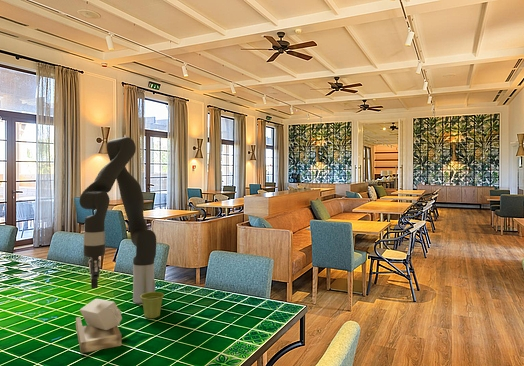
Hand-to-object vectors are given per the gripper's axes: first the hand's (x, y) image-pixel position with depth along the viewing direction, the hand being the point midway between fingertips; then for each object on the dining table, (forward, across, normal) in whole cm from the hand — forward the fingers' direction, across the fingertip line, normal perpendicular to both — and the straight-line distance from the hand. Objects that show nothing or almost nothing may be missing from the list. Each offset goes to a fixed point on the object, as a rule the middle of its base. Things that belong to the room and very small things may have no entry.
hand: (94, 287), depth 149 cm
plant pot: (+15, 0, -22) cm, 26 cm away
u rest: (+14, -11, 0) cm, 18 cm away
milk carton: (+10, +2, +1) cm, 10 cm away
